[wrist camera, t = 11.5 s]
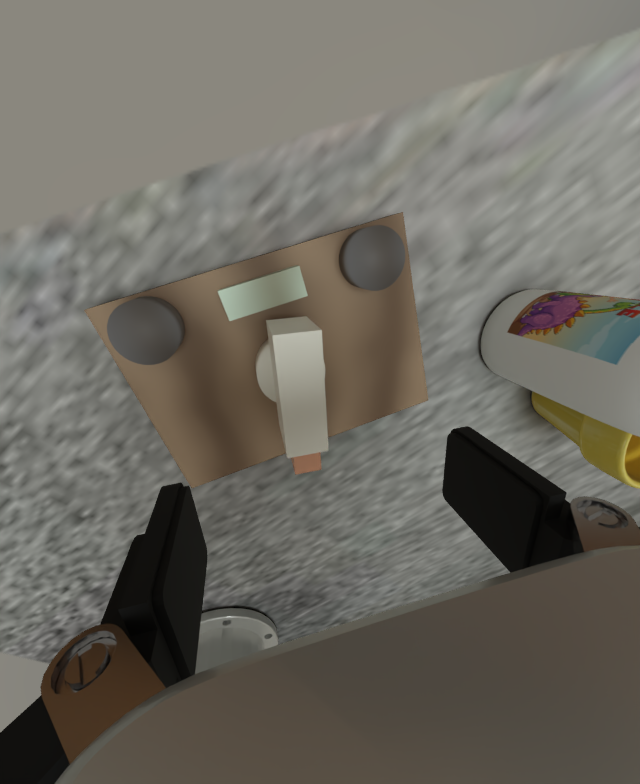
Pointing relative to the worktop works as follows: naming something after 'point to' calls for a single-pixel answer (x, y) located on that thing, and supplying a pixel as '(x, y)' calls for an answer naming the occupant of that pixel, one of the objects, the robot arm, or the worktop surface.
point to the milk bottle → (570, 351)
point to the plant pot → (595, 440)
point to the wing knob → (296, 387)
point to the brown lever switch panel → (249, 331)
